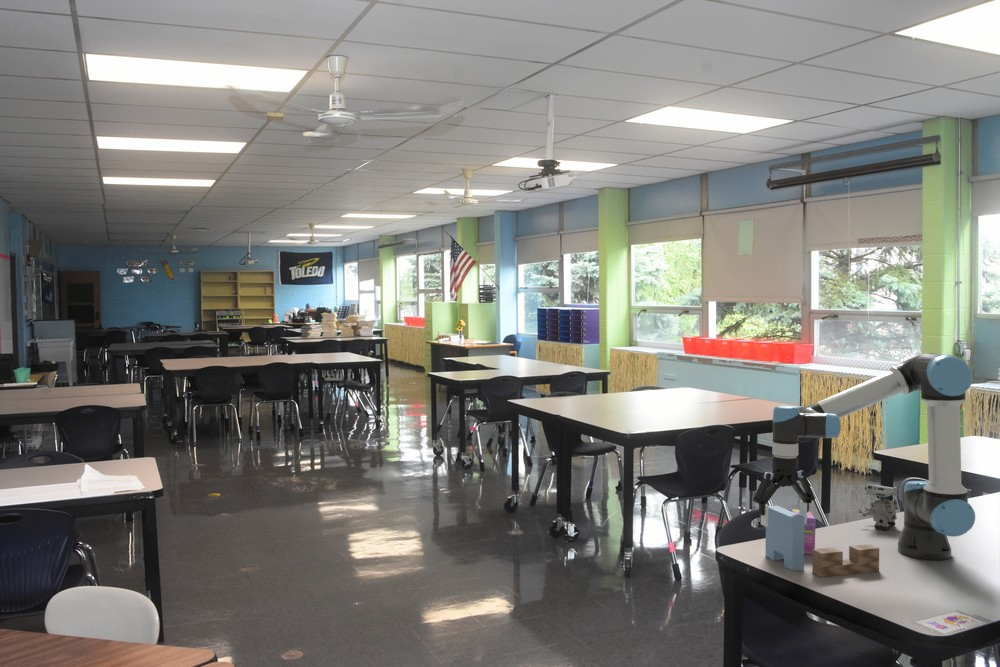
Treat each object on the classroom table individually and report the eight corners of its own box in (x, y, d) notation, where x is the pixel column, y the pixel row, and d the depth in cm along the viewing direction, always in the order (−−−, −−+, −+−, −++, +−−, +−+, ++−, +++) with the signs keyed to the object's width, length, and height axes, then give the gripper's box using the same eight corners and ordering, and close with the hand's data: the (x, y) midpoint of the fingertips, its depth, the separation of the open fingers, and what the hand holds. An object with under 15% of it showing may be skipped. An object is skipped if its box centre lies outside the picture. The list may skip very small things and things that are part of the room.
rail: (869, 566, 233) (869, 544, 232) (879, 571, 229) (879, 548, 228) (812, 572, 228) (812, 549, 228) (821, 577, 224) (821, 553, 224)
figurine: (866, 521, 283) (866, 480, 283) (900, 527, 275) (900, 485, 275) (857, 526, 276) (858, 484, 276) (891, 532, 269) (892, 490, 268)
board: (765, 556, 243) (765, 506, 243) (776, 555, 244) (776, 505, 244) (792, 570, 230) (792, 517, 229) (804, 569, 230) (804, 517, 230)
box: (815, 554, 245) (815, 518, 244) (796, 553, 246) (796, 517, 245) (809, 544, 255) (809, 509, 254) (791, 543, 256) (791, 508, 256)
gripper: (812, 452, 242) (811, 518, 243) (742, 455, 236) (741, 523, 237) (828, 456, 235) (826, 525, 236) (756, 460, 229) (754, 530, 230)
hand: (783, 524), depth 236 cm, fingers open, 13 cm apart
